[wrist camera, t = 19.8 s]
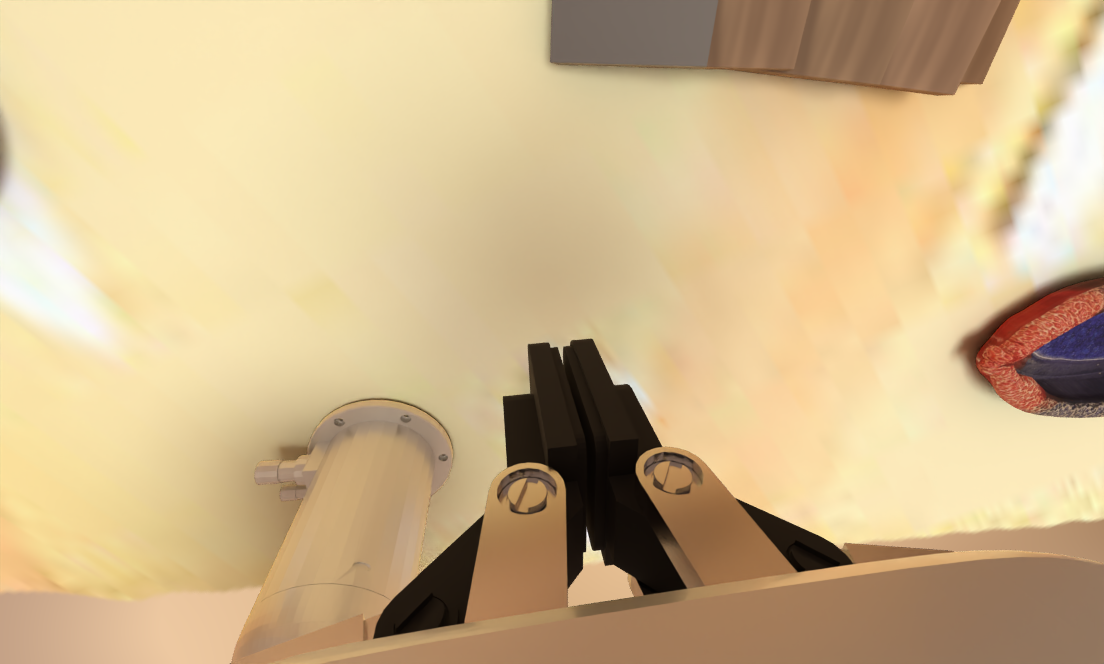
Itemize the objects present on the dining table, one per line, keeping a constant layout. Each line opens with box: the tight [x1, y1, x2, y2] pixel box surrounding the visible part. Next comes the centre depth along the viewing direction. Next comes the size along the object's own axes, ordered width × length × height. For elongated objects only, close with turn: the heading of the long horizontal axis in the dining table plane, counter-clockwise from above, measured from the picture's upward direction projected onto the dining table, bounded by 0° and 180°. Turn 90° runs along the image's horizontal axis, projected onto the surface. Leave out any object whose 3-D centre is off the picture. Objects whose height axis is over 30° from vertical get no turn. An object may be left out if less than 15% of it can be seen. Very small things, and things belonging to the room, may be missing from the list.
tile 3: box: [728, 0, 915, 86], centre depth 27 cm, size 2×5×9 cm
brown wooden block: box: [960, 0, 1020, 84], centre depth 30 cm, size 2×5×9 cm
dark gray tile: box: [550, 0, 718, 68], centre depth 25 cm, size 2×5×9 cm
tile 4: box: [870, 0, 1001, 96], centre depth 28 cm, size 2×5×9 cm
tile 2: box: [655, 0, 811, 71], centre depth 26 cm, size 2×5×9 cm
